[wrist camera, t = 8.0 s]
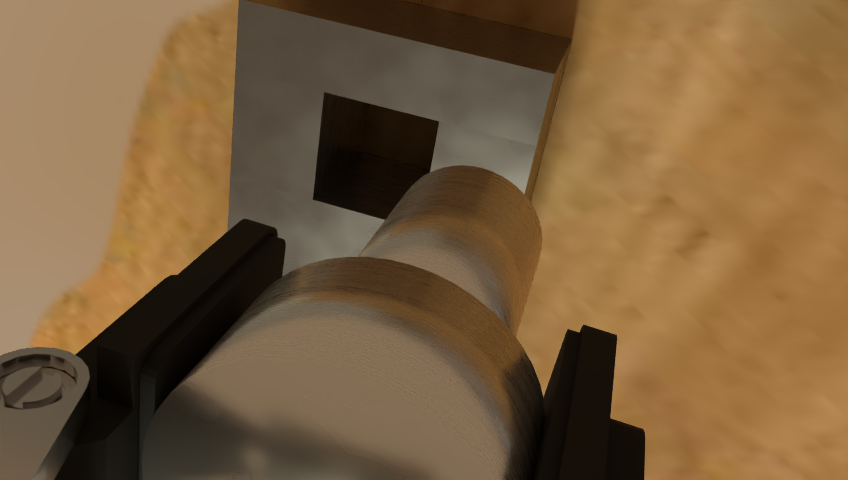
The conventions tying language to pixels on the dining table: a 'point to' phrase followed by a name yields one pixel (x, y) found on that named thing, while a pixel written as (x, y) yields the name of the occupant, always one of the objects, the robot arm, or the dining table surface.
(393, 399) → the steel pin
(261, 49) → the block
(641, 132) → the dining table surface
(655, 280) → the dining table surface
